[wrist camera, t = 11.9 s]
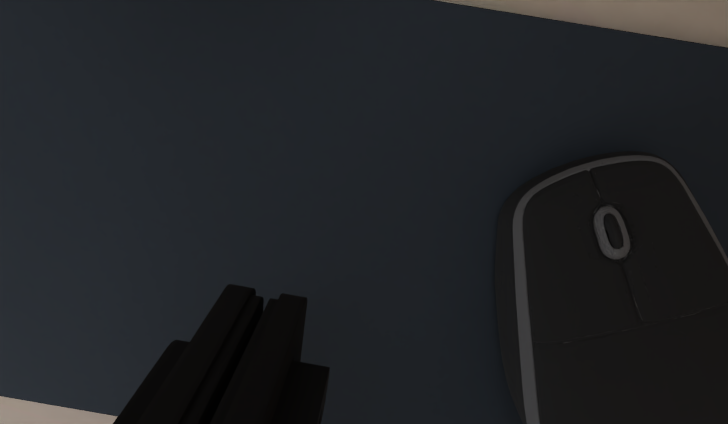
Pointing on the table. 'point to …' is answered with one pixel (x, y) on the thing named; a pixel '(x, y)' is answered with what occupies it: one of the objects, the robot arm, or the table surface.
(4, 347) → the mat
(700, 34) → the table surface
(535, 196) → the computer mouse
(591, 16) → the table surface
